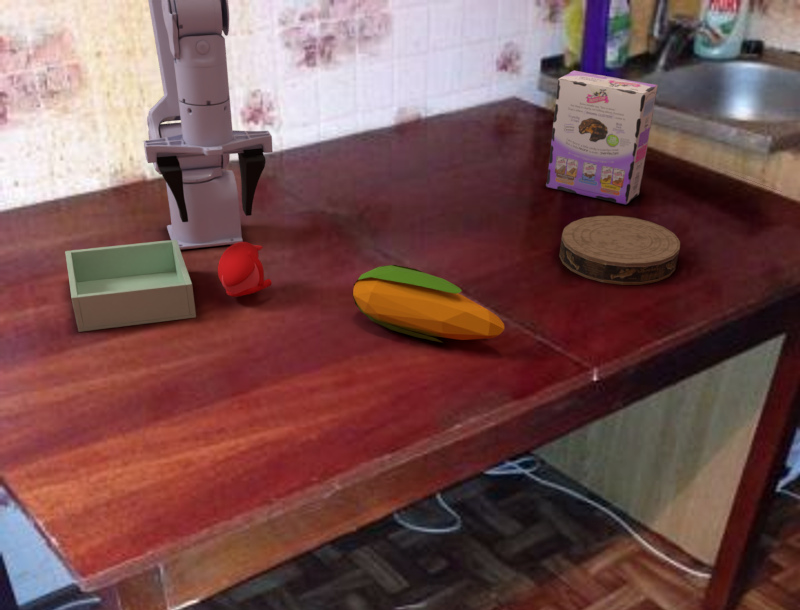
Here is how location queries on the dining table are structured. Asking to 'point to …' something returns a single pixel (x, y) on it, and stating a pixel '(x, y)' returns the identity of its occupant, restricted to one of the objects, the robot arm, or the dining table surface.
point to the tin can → (619, 250)
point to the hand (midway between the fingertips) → (215, 215)
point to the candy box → (600, 136)
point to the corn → (422, 305)
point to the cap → (242, 270)
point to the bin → (129, 285)
